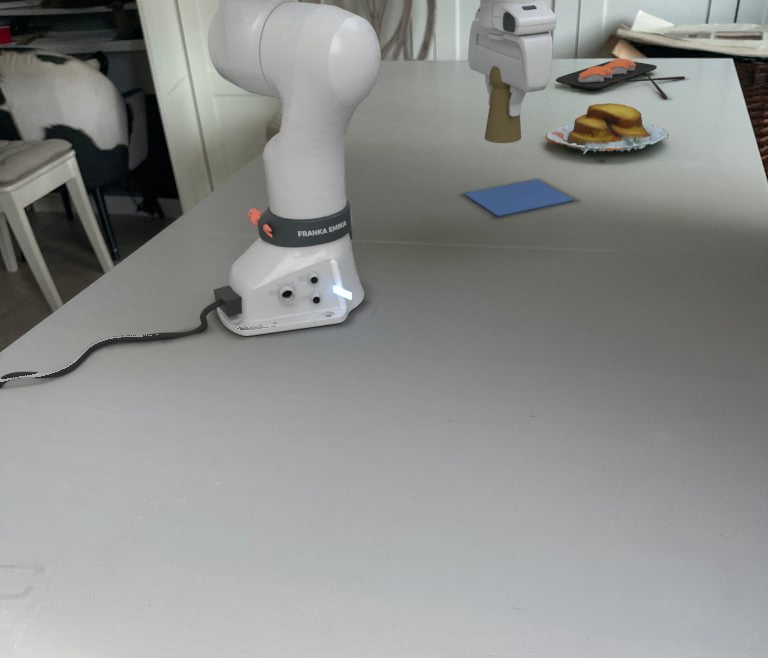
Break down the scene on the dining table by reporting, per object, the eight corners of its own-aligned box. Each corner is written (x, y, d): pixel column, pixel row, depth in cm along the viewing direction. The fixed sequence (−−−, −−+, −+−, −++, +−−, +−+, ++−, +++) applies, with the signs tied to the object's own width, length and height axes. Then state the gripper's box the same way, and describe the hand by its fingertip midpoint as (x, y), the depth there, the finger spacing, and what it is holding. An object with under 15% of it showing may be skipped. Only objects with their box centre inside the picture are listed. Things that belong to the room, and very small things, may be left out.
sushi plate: (615, 66, 227) (617, 51, 224) (712, 81, 210) (715, 65, 207) (550, 87, 213) (551, 71, 210) (648, 106, 195) (651, 88, 193)
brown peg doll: (519, 143, 130) (524, 67, 123) (482, 142, 131) (485, 67, 124) (522, 133, 135) (527, 58, 128) (486, 132, 136) (489, 58, 129)
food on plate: (531, 158, 170) (533, 124, 166) (562, 125, 187) (564, 94, 183) (655, 168, 161) (661, 133, 157) (675, 133, 178) (681, 100, 174)
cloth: (497, 217, 146) (497, 215, 146) (464, 195, 155) (464, 193, 155) (573, 200, 150) (573, 199, 150) (536, 180, 159) (536, 179, 159)
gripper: (459, 4, 128) (457, 99, 137) (524, 23, 113) (517, 128, 122) (494, 0, 130) (490, 94, 139) (563, 18, 115) (553, 122, 124)
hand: (504, 110), depth 130 cm, fingers closed on brown peg doll, 4 cm apart
